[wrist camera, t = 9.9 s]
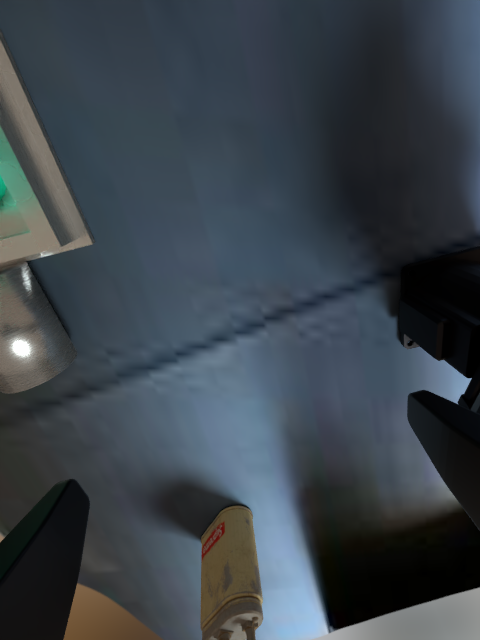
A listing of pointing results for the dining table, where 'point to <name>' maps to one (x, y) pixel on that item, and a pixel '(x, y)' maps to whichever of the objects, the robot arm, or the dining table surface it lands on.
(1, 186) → the candle
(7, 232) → the white tray
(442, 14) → the dining table surface
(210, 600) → the lighter
